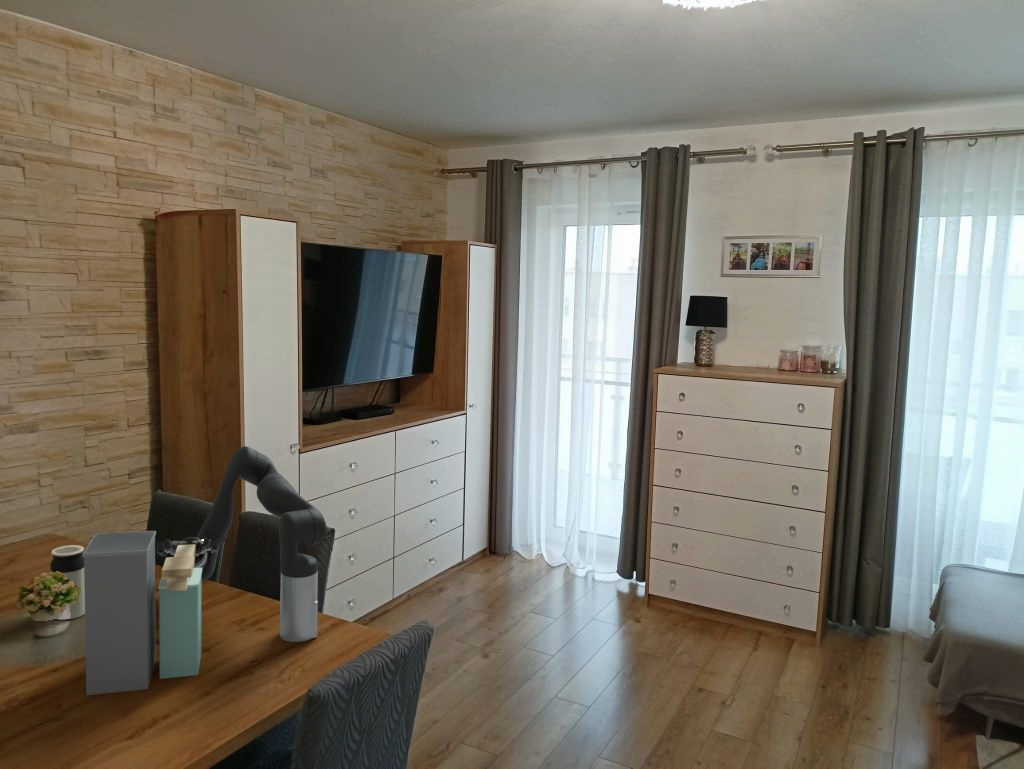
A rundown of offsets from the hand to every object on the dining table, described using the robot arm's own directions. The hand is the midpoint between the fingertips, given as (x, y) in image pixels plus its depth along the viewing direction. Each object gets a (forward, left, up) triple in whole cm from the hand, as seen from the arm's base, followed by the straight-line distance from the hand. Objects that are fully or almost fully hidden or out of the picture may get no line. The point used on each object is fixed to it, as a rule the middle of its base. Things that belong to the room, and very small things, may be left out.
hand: (186, 542), depth 185 cm
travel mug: (+31, -22, -26) cm, 46 cm away
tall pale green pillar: (0, +13, -26) cm, 29 cm away
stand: (+12, +15, -26) cm, 32 cm away
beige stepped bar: (0, +10, -4) cm, 11 cm away
